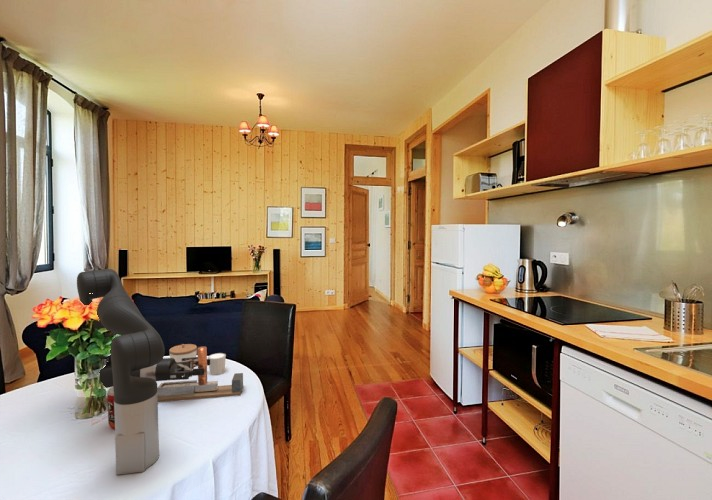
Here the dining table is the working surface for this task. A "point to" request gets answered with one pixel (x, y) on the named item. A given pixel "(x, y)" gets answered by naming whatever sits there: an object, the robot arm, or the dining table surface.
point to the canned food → (111, 408)
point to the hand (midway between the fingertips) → (207, 366)
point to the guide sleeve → (176, 389)
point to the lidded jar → (183, 352)
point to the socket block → (237, 382)
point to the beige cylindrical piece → (217, 363)
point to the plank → (204, 394)
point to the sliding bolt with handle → (202, 379)
